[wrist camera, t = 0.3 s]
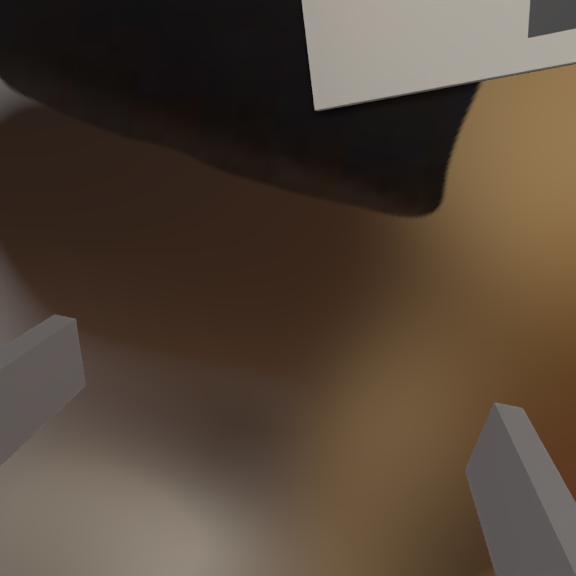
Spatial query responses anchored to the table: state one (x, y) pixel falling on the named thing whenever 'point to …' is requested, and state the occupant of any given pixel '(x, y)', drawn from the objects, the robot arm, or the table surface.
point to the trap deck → (429, 44)
